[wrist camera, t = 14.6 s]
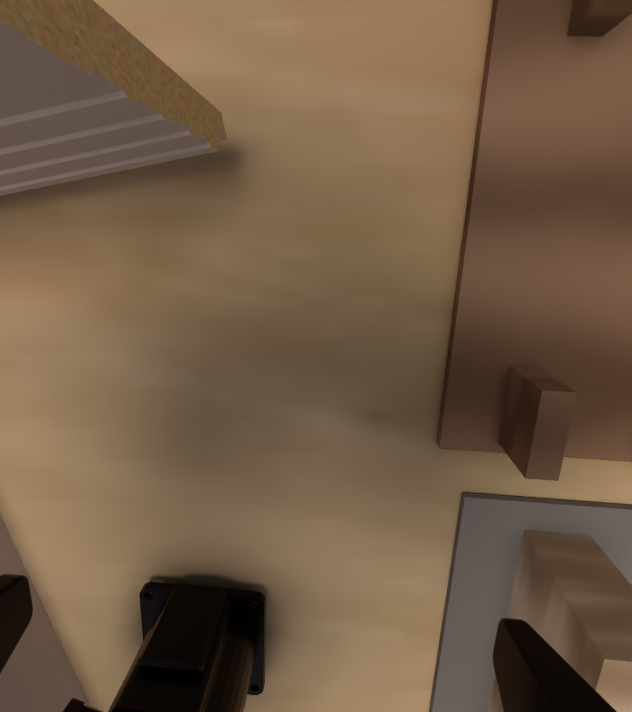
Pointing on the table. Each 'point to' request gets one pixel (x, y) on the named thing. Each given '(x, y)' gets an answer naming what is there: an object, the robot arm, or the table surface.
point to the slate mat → (505, 581)
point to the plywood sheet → (576, 610)
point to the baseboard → (89, 98)
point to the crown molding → (34, 655)
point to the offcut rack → (547, 243)
